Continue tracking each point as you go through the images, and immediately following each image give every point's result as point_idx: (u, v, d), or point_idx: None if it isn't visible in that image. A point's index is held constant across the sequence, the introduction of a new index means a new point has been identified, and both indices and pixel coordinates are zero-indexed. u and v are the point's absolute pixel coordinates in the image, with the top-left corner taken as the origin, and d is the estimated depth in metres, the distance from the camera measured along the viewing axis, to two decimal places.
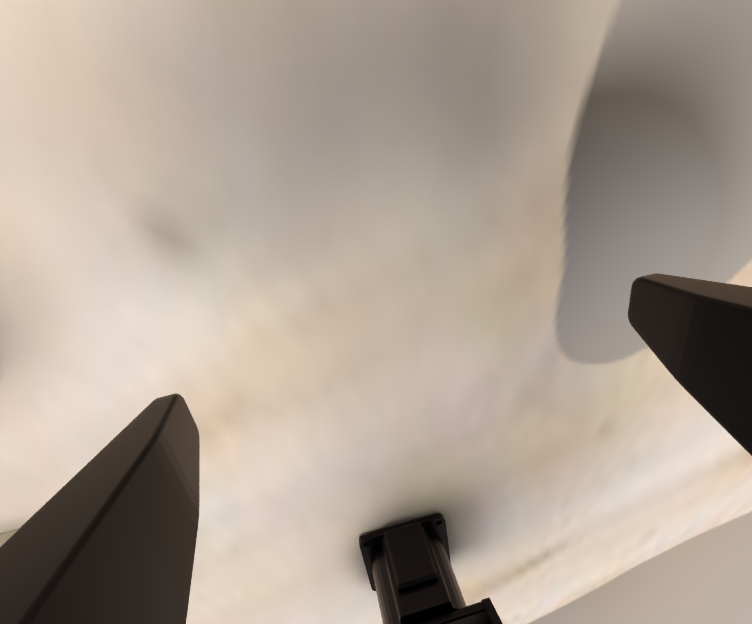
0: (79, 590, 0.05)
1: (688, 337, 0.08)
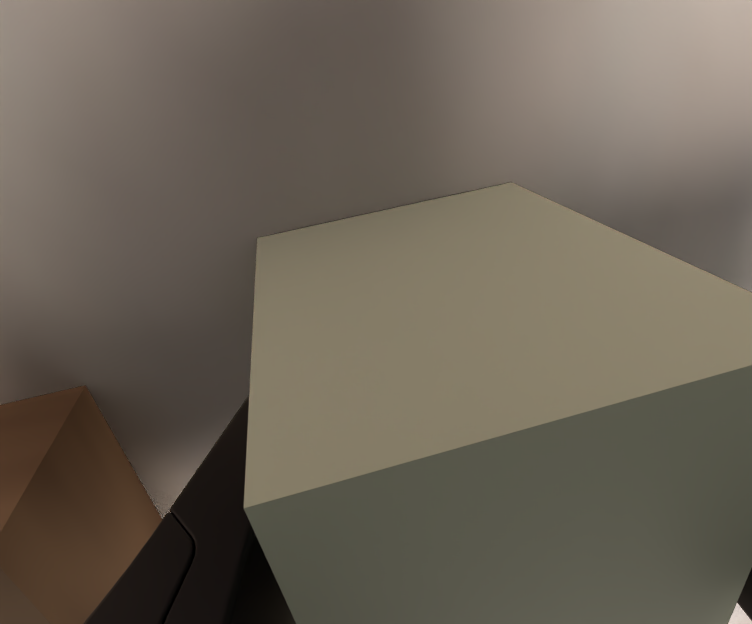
0: None
1: None
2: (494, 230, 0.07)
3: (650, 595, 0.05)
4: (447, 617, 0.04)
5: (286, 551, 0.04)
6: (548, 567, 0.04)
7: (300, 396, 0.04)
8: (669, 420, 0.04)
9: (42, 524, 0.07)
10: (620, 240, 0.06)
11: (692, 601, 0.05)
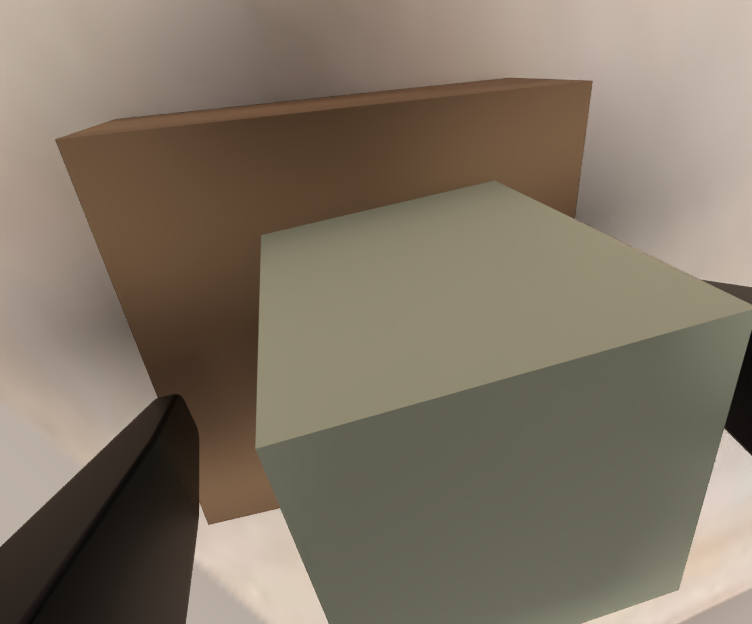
0: (79, 590, 0.05)
1: None
2: (474, 225, 0.08)
3: (609, 539, 0.06)
4: (429, 552, 0.05)
5: (290, 488, 0.04)
6: (514, 510, 0.05)
7: (301, 365, 0.05)
8: (606, 378, 0.05)
9: None
10: (584, 231, 0.07)
11: (647, 547, 0.06)
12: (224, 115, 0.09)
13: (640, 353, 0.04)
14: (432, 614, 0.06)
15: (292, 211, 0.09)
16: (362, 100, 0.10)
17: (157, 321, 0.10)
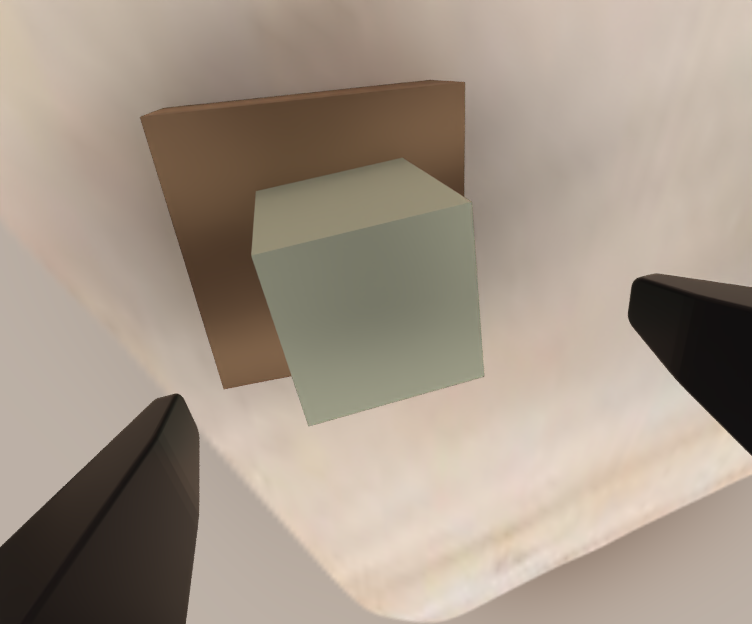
0: (79, 590, 0.05)
1: (688, 337, 0.08)
2: (377, 179, 0.13)
3: (430, 332, 0.12)
4: (334, 326, 0.11)
5: (266, 278, 0.10)
6: (374, 304, 0.11)
7: (272, 234, 0.11)
8: (405, 233, 0.10)
9: None
10: (429, 179, 0.13)
11: (455, 341, 0.12)
12: (236, 104, 0.15)
13: (418, 221, 0.10)
14: (341, 368, 0.12)
15: (278, 163, 0.15)
16: (323, 94, 0.15)
17: (194, 234, 0.15)
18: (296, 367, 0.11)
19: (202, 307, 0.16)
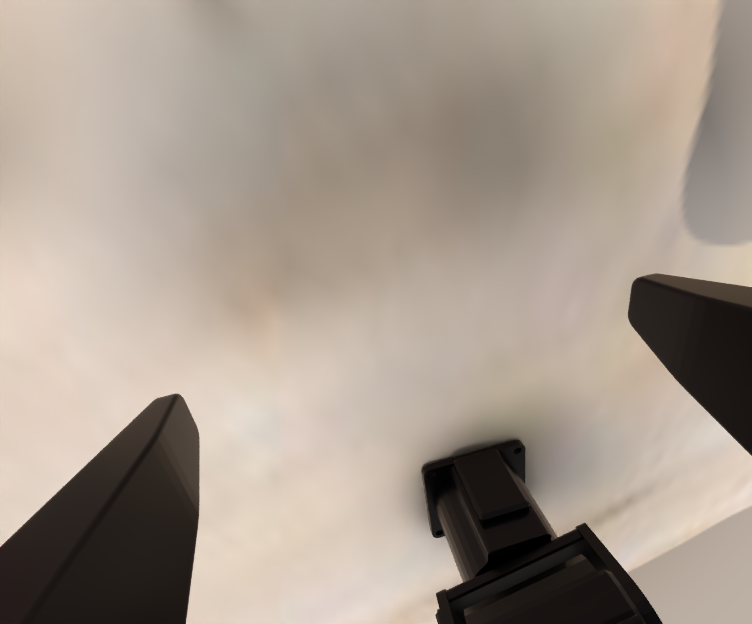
0: (79, 590, 0.05)
1: (688, 337, 0.08)
2: None
3: None
4: None
5: None
6: None
7: None
8: None
9: None
10: None
11: None
12: None
13: None
14: None
15: None
16: None
17: None
18: None
19: None
